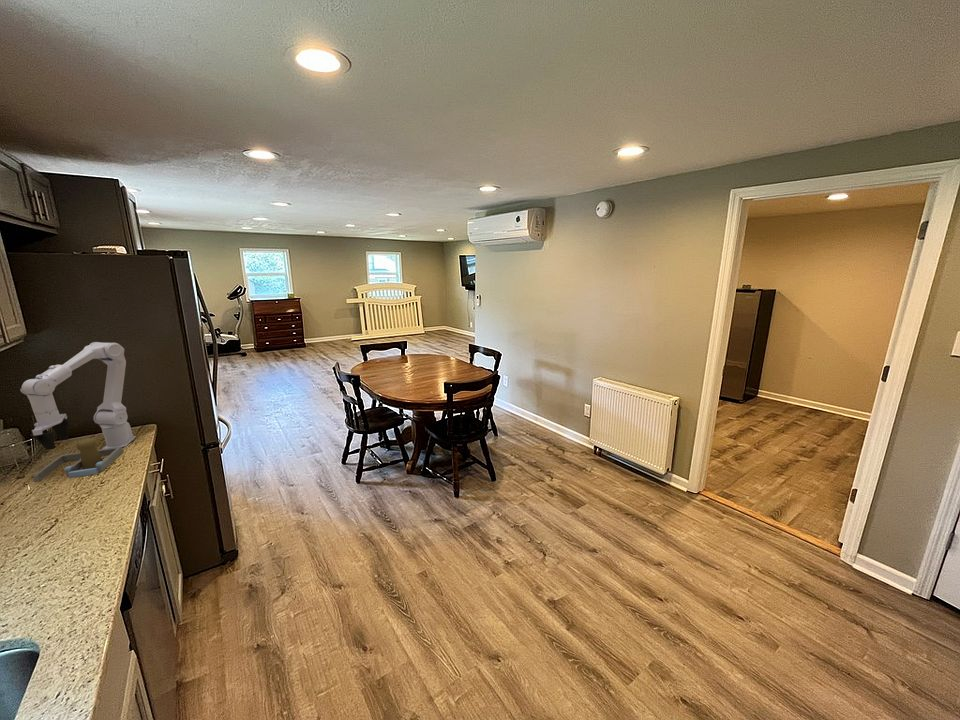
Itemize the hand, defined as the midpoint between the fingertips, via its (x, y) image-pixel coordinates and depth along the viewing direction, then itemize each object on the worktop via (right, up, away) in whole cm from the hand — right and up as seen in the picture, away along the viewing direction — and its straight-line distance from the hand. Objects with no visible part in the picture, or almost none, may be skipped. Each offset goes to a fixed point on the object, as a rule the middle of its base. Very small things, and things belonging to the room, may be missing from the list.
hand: (57, 444), depth 141 cm
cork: (+8, -10, +5) cm, 14 cm away
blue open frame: (+4, -10, +4) cm, 11 cm away
